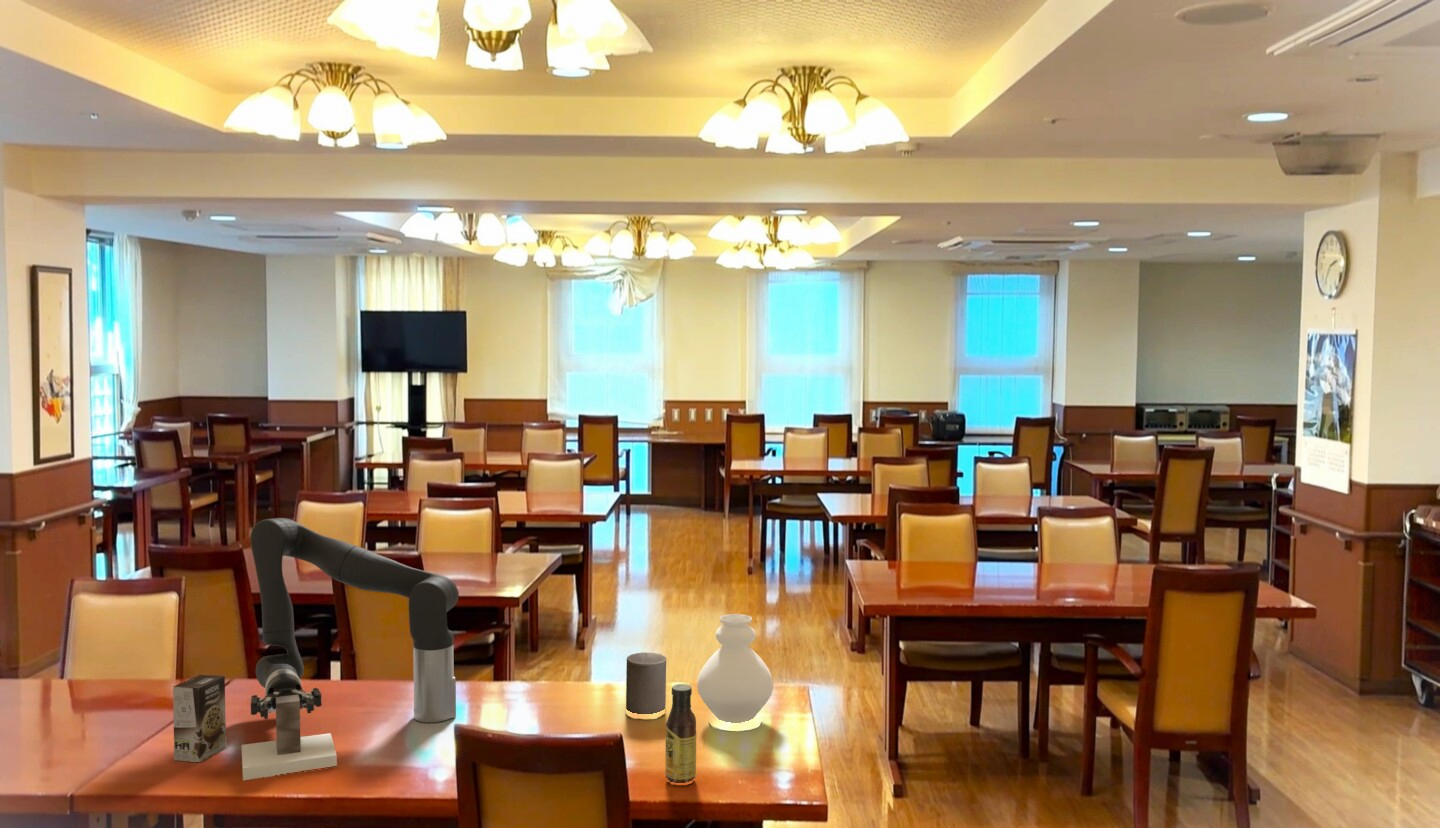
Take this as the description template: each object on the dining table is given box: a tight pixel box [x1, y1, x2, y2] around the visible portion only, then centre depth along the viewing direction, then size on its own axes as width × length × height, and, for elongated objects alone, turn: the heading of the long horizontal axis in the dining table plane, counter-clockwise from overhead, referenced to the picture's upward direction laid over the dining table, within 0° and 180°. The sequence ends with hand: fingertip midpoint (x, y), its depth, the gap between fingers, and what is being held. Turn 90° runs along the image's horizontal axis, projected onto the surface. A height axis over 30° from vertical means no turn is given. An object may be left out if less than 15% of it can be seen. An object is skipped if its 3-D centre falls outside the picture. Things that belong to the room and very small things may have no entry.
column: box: [275, 695, 301, 755], centre depth 229 cm, size 4×4×11 cm
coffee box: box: [172, 674, 227, 763], centre depth 233 cm, size 9×6×16 cm
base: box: [241, 732, 338, 781], centre depth 230 cm, size 18×14×2 cm
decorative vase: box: [696, 613, 774, 723], centre depth 255 cm, size 18×18×25 cm
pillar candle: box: [625, 652, 667, 714], centre depth 261 cm, size 10×10×15 cm
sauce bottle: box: [665, 683, 697, 783], centre depth 220 cm, size 7×6×20 cm
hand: (288, 711), depth 230 cm, fingers open, 8 cm apart
